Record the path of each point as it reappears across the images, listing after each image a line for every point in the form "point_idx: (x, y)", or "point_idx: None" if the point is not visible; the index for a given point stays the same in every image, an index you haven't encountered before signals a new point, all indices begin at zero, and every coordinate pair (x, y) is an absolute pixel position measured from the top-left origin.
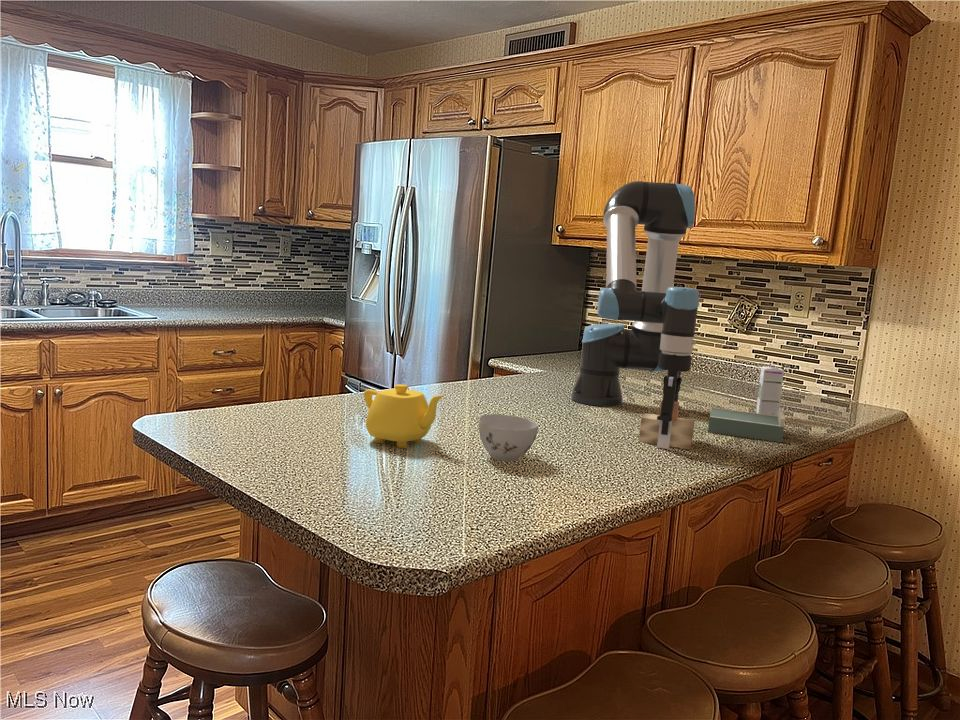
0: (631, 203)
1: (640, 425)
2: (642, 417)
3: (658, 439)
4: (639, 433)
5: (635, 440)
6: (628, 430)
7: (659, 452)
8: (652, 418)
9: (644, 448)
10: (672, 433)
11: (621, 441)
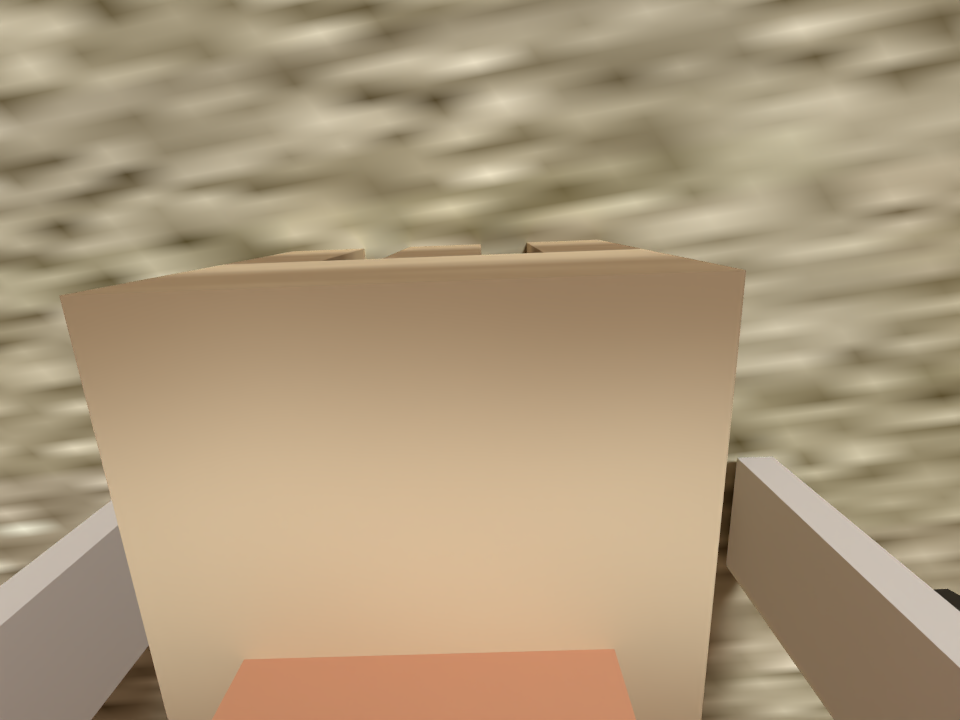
0: None
1: (184, 274)
2: (100, 323)
3: (78, 534)
4: (252, 259)
5: (323, 206)
6: (853, 4)
7: (2, 515)
8: (196, 545)
9: (29, 363)
10: None
11: (129, 45)
